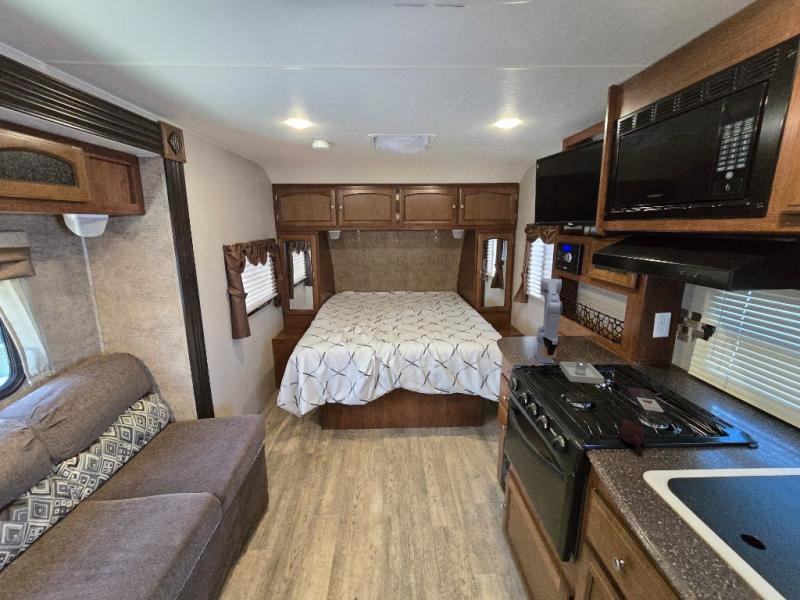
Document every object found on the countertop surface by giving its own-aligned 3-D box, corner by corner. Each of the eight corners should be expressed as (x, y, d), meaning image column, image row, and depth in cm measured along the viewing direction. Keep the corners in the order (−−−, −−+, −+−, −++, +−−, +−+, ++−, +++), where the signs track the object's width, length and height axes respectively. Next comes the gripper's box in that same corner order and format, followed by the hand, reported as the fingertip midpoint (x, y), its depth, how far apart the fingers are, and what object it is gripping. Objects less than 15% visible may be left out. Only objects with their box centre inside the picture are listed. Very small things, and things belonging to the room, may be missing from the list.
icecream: (611, 410, 115) (624, 439, 101) (636, 409, 112) (652, 439, 98) (613, 426, 116) (626, 457, 103) (638, 426, 113) (654, 458, 100)
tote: (559, 367, 164) (560, 361, 163) (589, 368, 162) (589, 363, 161) (570, 381, 149) (571, 375, 148) (603, 384, 146) (604, 378, 146)
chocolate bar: (650, 389, 140) (668, 412, 124) (649, 391, 140) (667, 414, 124) (625, 386, 143) (640, 408, 127) (625, 388, 143) (639, 410, 127)
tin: (573, 371, 157) (574, 361, 156) (581, 371, 157) (583, 361, 156) (578, 375, 153) (579, 364, 152) (587, 375, 153) (588, 364, 152)
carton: (541, 354, 159) (542, 345, 158) (553, 354, 158) (554, 346, 157) (543, 357, 155) (544, 348, 154) (555, 358, 154) (556, 349, 153)
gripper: (539, 321, 161) (536, 347, 164) (547, 330, 147) (544, 358, 150) (554, 322, 160) (551, 348, 163) (563, 331, 146) (560, 359, 149)
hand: (548, 353), depth 156 cm, fingers closed on carton, 4 cm apart
